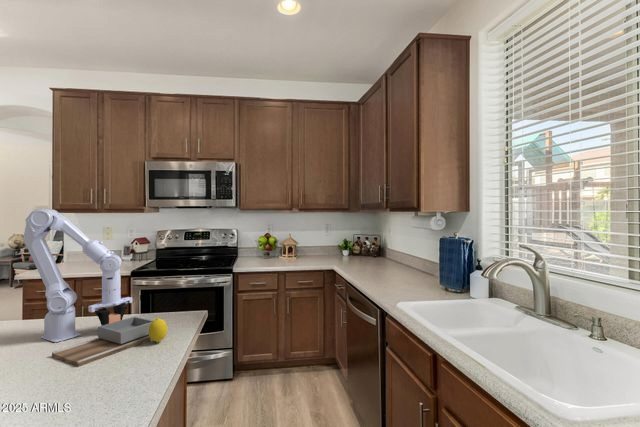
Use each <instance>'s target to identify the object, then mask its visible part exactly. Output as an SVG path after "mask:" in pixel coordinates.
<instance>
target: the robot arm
mask: <svg viewBox="0 0 640 427" xmlns="http://www.w3.org/2000/svg"><path fill="white" fill-rule="evenodd" d="M51 230H52V231H60V232H63V233H64V234H65V235H66V236H68V237H69V238H71V239H72V240H73V241H75V242H76V243H77V244H78V245H80V246H81V247H82V253H83V254H84V255H85V256H87V257H88V258H89V259H90V260H92V261H93V262H95V263H96V264H97V265H99V268H100V270H101V271H102V272H101V273H102V277H101V301H100V302H98V303H95V304H91V305H88V310H87V311H88V312H89V313H95V314H96V316H97V318H98V319H99V322H100V326H103V325H106V324H108V317H109V314H111V313H110V312H111V310H108V308H110V309H111V308H113V313H116V314H120V320H123V318H124V315H125V312H126V311H127V309H128V305H127V304H132V303H133V297H132V296H131V297H130V296H127V297H122V295H121V291H122V290H121V289H122V286H121V285H122V284H121V282H122V281H121V280H122V279H121V278H122V276H121V269H120V267H121V266H122V263H123V262H122V261H123V260H122V258H121V257H120V255H118V254H116V253H115V252H114V251H113V250H111V251H110V249H109V248H107V247H106V246H105V245H104V242H103V241H102V240H100V241H99V240H98V239H90V238H89V237H88V236H87V235H86V234H85V233H84V232H82V231H81V230H80V229H79V228H78V227H77V226H76V225H75V224H74V223H73V222H72V221H71V220H70V219H68V218H67V217H66V216H65V215H63V214H61V213H60V212H59V211H57V210H56V209H53V208H47V209H46V208H37V209H34V210H32V211H31V212H30V213H29V214H28V216H27V217H26V218H25V227H24V232H23V242H24V244H25V246H26V248H27V251H28V253H29V254H30V256H31V259H32V260H33V263H34V266H35V267H36V269H37V272H38V275H39V276H40V278H41V279H42V280H41V281H42V283H43V285H44V286H45V293H44V295H45V297H46V308H47V310H48V312H47V313H46V315H45V316H44V318H43V323H44V324H43V325H44V326H43V327H44V328H43V335H42V336H41V337H40V338H41V339H43V340H47V341H49V342H53V343H60V342H63V341H65V340H66V341H67V340H68V339H73V338H76V337H80V336H81V335H82V333H79V332H77V331H76V307H75V306H74V304H75V303H76V302H77V299H78V295H77V293H76V292H75V290H73V289H72V288H71V286H70V285H69V283H67V282H66V281H65V280H64V277H63V276H62V274H61V271H60V268H59V267H58V264H57V263H56V261H55V258H54V256H53V254H52V252H51V250H50V247H49V245H48V243H47V241H46V238H47V236H48V235H49V233H50V232H51Z"/></svg>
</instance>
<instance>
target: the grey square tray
mask: <svg viewBox="0 0 640 427" xmlns="http://www.w3.org/2000/svg"><path fill="white" fill-rule="evenodd" d="M154 320H155V319H150V318H147V317H146V318H145V317H140V316H136V315H134V316H132V317H127V318H125V319H122V320H120V321H117V322H113V323H110V324H106V325H103V326H101V325H100V326H97V338H102V339H105V340H109V341H112V342H116V343H119V344H124V343H125V342H128V341H131V340H134V339H137V338H140V337H142V336H145V335H148V334H149V326H150V324H151V323H152V322H153V321H154Z"/></svg>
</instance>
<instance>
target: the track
mask: <svg viewBox="0 0 640 427" xmlns="http://www.w3.org/2000/svg"><path fill="white" fill-rule="evenodd" d="M149 341H152V340H151V338H150V337H149V334H148V335H145V336H142V337H140V338H137V339H134V340H131V341H128V342H125V343H124V344H119V343H116V342H112V341H109V340H105V339H102V338H98V337H97V338H94V339H91V340H88V341H85V342H81V343H78V344H75V345H72V346H68V347H65V348H62V349H59V350H55V351H52V352H51V357H52V358H54V359H56V360H60V361H62V362H66V363H67V364H70V365H73V366H76V367H81V366H84V365H87V364H90V363H93V362H95V361H98V360H101V359H103V358H106V357H108V356H111V355H114V354H116V353H120V352H122V351H125V350H127V349H131V348H133V347H135V346H138V345H141V344H145V343H146V342H149Z"/></svg>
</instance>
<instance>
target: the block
mask: <svg viewBox="0 0 640 427" xmlns="http://www.w3.org/2000/svg"><path fill="white" fill-rule="evenodd" d="M117 321H120V314H116V313H114V312H112V313H109V317H108V324H110V323H113V322H117Z"/></svg>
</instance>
